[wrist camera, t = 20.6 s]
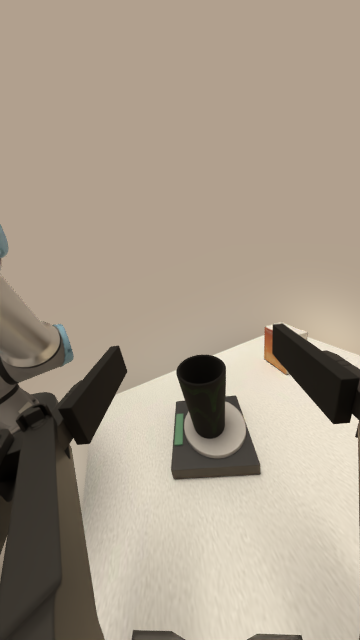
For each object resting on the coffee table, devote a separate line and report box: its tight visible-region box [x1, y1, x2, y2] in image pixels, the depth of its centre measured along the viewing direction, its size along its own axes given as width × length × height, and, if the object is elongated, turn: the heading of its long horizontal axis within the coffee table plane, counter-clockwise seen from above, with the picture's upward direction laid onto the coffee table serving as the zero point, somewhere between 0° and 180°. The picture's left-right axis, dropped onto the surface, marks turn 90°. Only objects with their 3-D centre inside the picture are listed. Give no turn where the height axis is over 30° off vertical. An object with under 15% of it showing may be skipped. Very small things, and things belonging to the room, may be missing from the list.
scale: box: [171, 396, 260, 479], centre depth 31 cm, size 13×13×3 cm
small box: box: [264, 322, 308, 375], centre depth 45 cm, size 8×6×10 cm
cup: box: [177, 355, 226, 439], centre depth 29 cm, size 8×8×12 cm
